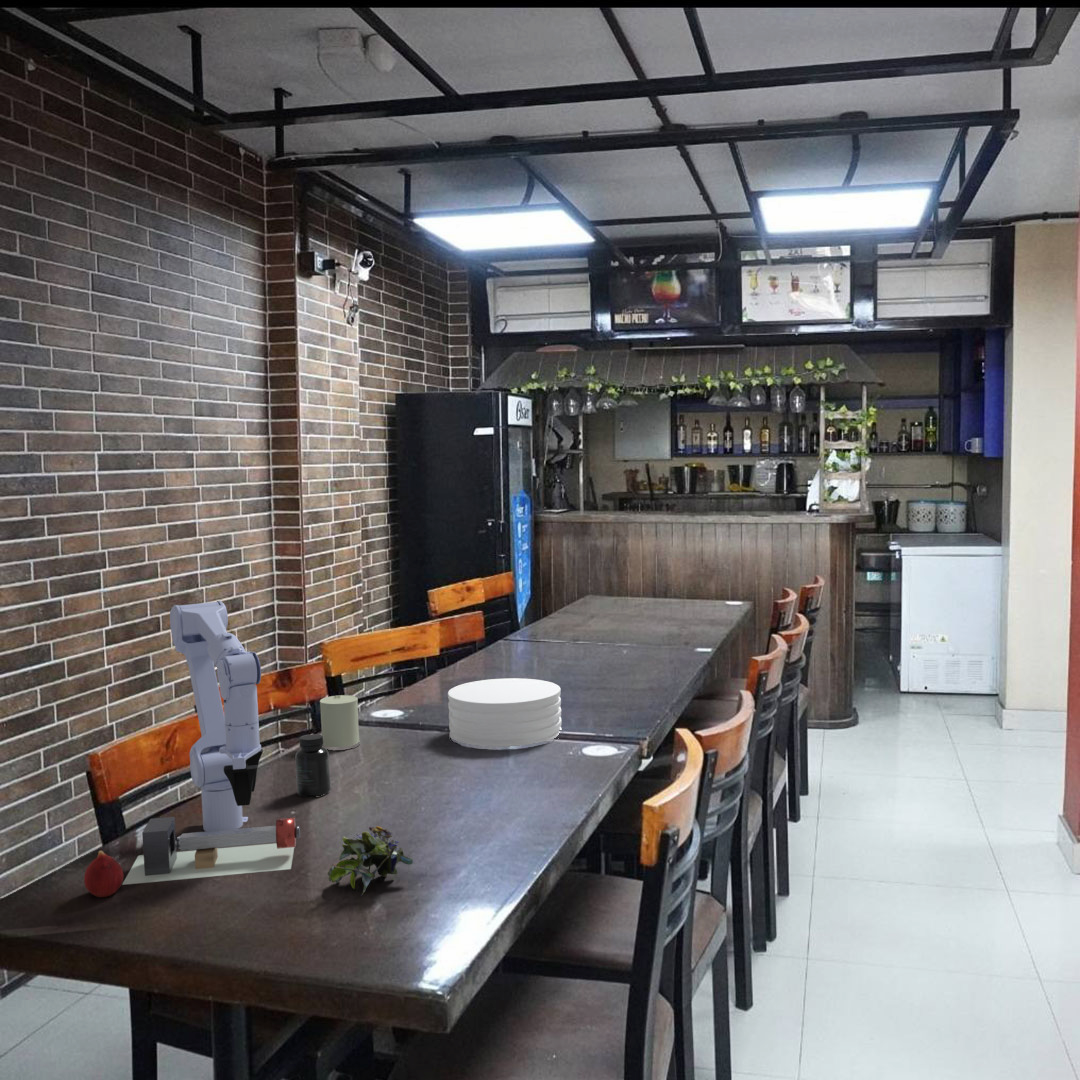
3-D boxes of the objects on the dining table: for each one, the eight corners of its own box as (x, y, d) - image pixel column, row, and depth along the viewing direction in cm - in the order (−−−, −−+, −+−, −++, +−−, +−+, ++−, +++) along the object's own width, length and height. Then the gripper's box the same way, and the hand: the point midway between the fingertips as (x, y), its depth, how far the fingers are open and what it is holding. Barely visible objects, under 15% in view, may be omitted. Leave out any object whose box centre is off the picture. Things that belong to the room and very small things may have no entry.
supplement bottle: (314, 786, 226) (312, 731, 225) (337, 791, 222) (334, 735, 221) (290, 795, 220) (287, 738, 219) (312, 800, 216) (310, 743, 215)
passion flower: (383, 908, 175) (424, 849, 176) (363, 925, 165) (406, 862, 165) (331, 867, 178) (371, 808, 178) (307, 881, 167) (350, 818, 167)
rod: (177, 851, 183) (176, 823, 182) (301, 840, 186) (299, 813, 186) (172, 862, 178) (171, 833, 177) (299, 850, 181) (298, 822, 181)
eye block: (152, 860, 183) (150, 818, 182) (176, 858, 184) (174, 816, 183) (144, 875, 176) (142, 832, 175) (169, 873, 177) (167, 830, 176)
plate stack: (584, 737, 259) (582, 691, 258) (486, 758, 244) (485, 709, 243) (522, 715, 282) (520, 673, 281) (429, 733, 267) (427, 689, 266)
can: (356, 739, 263) (354, 691, 262) (362, 748, 254) (360, 699, 253) (319, 743, 260) (317, 695, 259) (324, 752, 251) (321, 703, 250)
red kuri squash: (129, 891, 172) (126, 843, 172) (117, 906, 167) (113, 857, 166) (93, 892, 172) (90, 845, 172) (79, 907, 166) (76, 858, 166)
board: (138, 861, 185) (138, 855, 185) (295, 847, 190) (295, 841, 190) (122, 890, 173) (122, 884, 173) (291, 874, 177) (290, 868, 177)
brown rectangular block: (199, 858, 183) (199, 844, 183) (217, 856, 184) (216, 842, 184) (195, 868, 178) (194, 854, 178) (213, 867, 179) (213, 853, 179)
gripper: (223, 714, 191) (227, 787, 192) (212, 734, 177) (216, 813, 178) (263, 711, 192) (267, 784, 193) (255, 731, 178) (259, 809, 179)
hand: (245, 798), depth 186 cm, fingers open, 7 cm apart
